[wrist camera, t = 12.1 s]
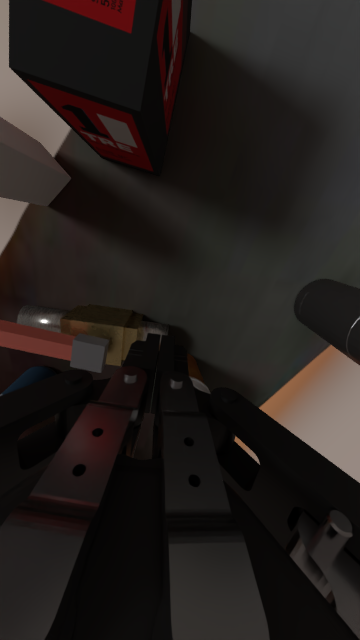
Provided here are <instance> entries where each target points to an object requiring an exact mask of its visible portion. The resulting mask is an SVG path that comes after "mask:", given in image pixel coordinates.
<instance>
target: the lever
mask: <svg viewBox="0 0 360 640" xmlns="http://www.w3.org/2000/svg"><path fill="white" fill-rule="evenodd" d="M108 345H109V340H108V339H103V338H99V337H94V336H90V335H85V334H81V333H79V334H78V335H77V336H72V335H67V334H62V333H58V332H53V331H49V330H44V329H40V328H35V327H31V326H26V325H22V324H17V323H13V322H8V321H3V320H0V346H3V347H8V348H12V349H17V350H22V351H27V352H32V353H36V354H41V355H46V356H51V357H55V358H60V359H65V360H70V361H71V364H70V367H75V368H80V369H85V370H89V371H94V372H99V373H101V372H102V370H103V368H104V366H105V363H106V357H107V351H108Z"/></svg>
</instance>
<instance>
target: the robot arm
mask: <svg viewBox="0 0 360 640" xmlns="http://www.w3.org/2000/svg"><path fill="white" fill-rule="evenodd" d="M294 311H295V315H296V317H297V319H298V320H299V321H300V322H301V323H302V324H304V325H305V326H307V327H308V328H309V329H311V330H312V331H313V332H315V333H316V334H317V335H319V336H320V337H321V338H323V339H324V340H326V341H327V342H328V343H330V344H331V345H332V346H334V347H335V348H336V349H338V350H339V351H341V352H342V353H343V354H345V355H346V356H347V357H349V358H350V359H352V360H353V361H354V362H356V363H357V364H359V365H360V289H359V288H356V287H353V286H349V285H347V284H343V283H340V282H337V281H334V280H329V279H320V280H316V281H314V282H311V283H310V284H308V285H307V286H305V287H304V288H303V289H302V290H301V291H300V293H299V294H298V296H297V298H296V300H295V305H294ZM160 337H161V335H160V334H153V333H148V334H147V338H146V341H140V340H136V341H135V342H134V343H132V344H131V346H130V349H129V351H128V354H127V356H126V359H125V361H124V364H123V366H122V367H121V368H119V369H117V370H116V371H115V372H114V374H113V376H112V377H111V378H109V379H103V380H93V377H92V375H91V374H90V373H89V372H87V371H84V370H69V371H65V372H62V373H60V374H57V375H54V376H52V377H49V378H46V379H44V380H41V381H38V382H36V383H33V384H31V385H28V386H25V387H23V388H20V389H17V390H15V391H12V392H9V393H7V394H4V395H1V396H0V640H360V483H359V482H357V481H356V480H355V479H353V478H352V477H351V476H349V475H348V474H347V473H345V472H344V471H342V470H341V469H340V468H338V467H337V466H336V465H334V464H333V463H332V462H330V461H329V460H328V459H326V458H325V457H324V456H322V455H321V454H320V453H318V452H317V451H316V450H314V449H313V448H311V447H310V446H309V445H307V444H306V443H305V442H303V441H302V440H301V439H299V438H298V437H297V436H295V435H294V434H293V433H291V432H290V431H289V430H287V429H286V428H285V427H283V426H282V425H281V424H279V423H278V422H277V421H275V420H274V419H272V418H271V417H270V416H268V415H267V414H266V413H264V412H263V411H262V410H260V409H259V408H258V407H256V406H255V405H254V404H252V403H251V402H250V401H248V400H247V399H246V398H244V397H243V396H242V395H240V394H239V393H237V392H236V391H234V390H232V389H229V388H216V389H214V390H213V391H212V392H211V394H209V393H206V392H203V391H201V390H199V389H197V388H196V387H194V386H193V382H192V380H191V378H190V377H189V370H188V358H187V351H186V349H185V348H184V347H183V346H179V345H174V341H175V336H168V335H162V337H161V344H160ZM159 344H160V351H159ZM158 351H159V358H158ZM157 359H158V365H157ZM156 366H157V372H156ZM155 372H156V379H155ZM154 379H155V386H154ZM153 386H154V393H153V401H152V408H151V413H153V414H155V419H154V426H153V448H152V459H149V460H138V459H135V458H133V455H134V451H135V447H136V444H137V440H138V437H139V433H140V430H141V424H142V421H143V419H144V414H145V413H149V412H150V405H151V399H152V392H153ZM54 415H55V421H54V422H53V423H51V424H49V425H47V426H45V427H43V428H41V429H39V430H37V431H36V432H34V433H32V434H30V435H28V436H26V437H24V438H22V439H20V440H19V441H17V440H18V438H19V436H20V435H21V434H22V433H23V432H24V431H25V430H26V429H28V428H30V427H32V426H34V425H36V424H38V423H40V422H42V421H44V420H46V419H48V418H50V417H52V416H54ZM235 436H237V437H238V438H239V439H240V440H241V441H242V442H243V443H244V444H245V445H246V446H248V447H249V448H250V449H251V450H252V451H253V452H254V453H255V454H256V456H257V457H258V459H259V462H260V465H259V464H258V463H257V462H256V461H255V460H254V459H253V458H252V457H251V456H250V455H249V454H248V453H247V452H246V451H244V450H243V449H242V448H241V447H240V446H239V445H238V444H237V443H236V442H235V441H234V439H235Z"/></svg>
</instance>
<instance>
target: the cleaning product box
mask: <svg viewBox="0 0 360 640" xmlns="http://www.w3.org/2000/svg"><path fill="white" fill-rule="evenodd" d="M191 6H192V0H9V67H10V68H11V69H12V70H13V71H14V72H15V73H16V74H17V75H18V76H19V77H20V78H21V79H22V80H23V81H24V82H25V83H26V84H27V85H28V86H29V87H30V88H31V89H32V90H33V91H34V92H35V93H36V94H37V95H38V96H39V97H40V98H41V99H42V100H43V101H44V102H45V103H46V104H47V105H49V107H50V108H51V109H53V111H54V112H55V113H57V115H59V116H60V117H61V118H62V119H63V120H64V121H65V122H66V123H67V124H68V125H69V126H70V127H71V128H72V129H73V130H74V131H75V132H76V133H77V134H78V135H79V136H80V137H81V138H82V139H83V140H84V141H85V142H86V143H87V144H88V145H89V146H90V147H91V148H92V149H93V150H94V151H95V152H96V153H97V154H98V155H99V156H100V157H101V158H104V159H107V160H110V161H113V162H116V163H119V164H123V165H126V166H129V167H132V168H135V169H138V170H142V171H145V172H148V173H151V174H154V175H158V176H160V173H161V169H162V164H163V159H164V154H165V149H166V144H167V140H168V135H169V130H170V125H171V120H172V115H173V111H174V106H175V101H176V96H177V91H178V86H179V82H180V77H181V72H182V67H183V62H184V57H185V53H186V48H187V43H188V38H189V33H190V21H191Z"/></svg>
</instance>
